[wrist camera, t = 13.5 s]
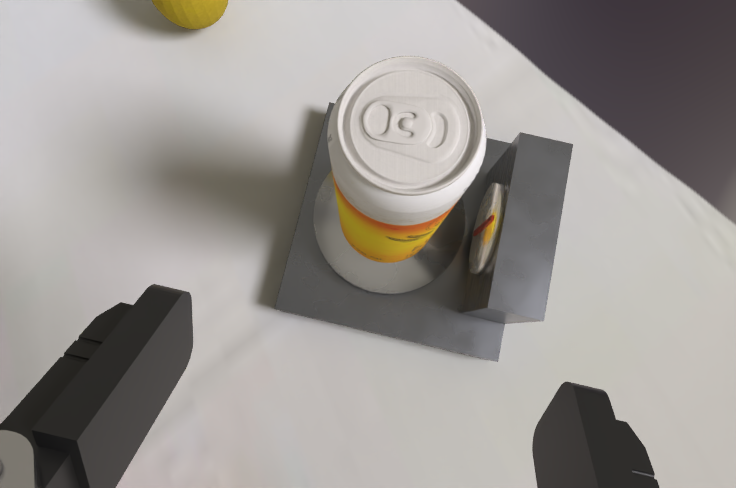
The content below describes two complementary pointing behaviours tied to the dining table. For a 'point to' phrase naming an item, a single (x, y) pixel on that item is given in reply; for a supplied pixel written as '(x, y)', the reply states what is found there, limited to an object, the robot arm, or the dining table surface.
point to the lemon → (192, 12)
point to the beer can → (402, 154)
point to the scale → (467, 270)
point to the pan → (380, 274)
